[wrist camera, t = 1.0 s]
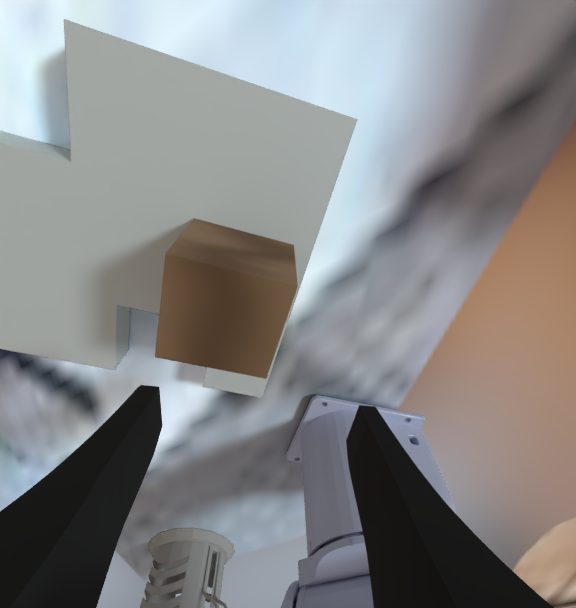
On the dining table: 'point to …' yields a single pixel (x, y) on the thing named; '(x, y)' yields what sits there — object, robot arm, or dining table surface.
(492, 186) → the dining table surface
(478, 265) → the dining table surface
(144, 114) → the plate
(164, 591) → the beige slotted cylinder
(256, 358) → the walnut block
